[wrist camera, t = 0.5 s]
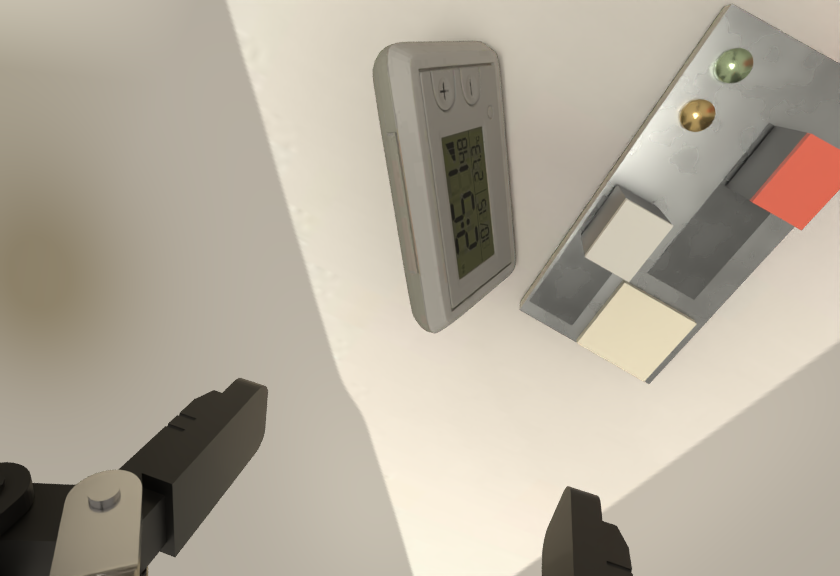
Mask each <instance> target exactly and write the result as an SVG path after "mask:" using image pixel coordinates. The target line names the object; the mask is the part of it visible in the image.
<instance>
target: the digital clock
mask: <svg viewBox="0 0 840 576" xmlns="http://www.w3.org/2000/svg"><path fill="white" fill-rule="evenodd" d="M373 82H374V89H375V95H376V102H377V108H378V115H379V121H380V128H381V134H382V140H383V146H384V151H385V157H386V163H387V169H388V175H389V181H390V187H391V193H392V199H393V205H394V211H395V217H396V223H397V229H398V235H399V241H400V247H401V253H402V259H403V265H404V271H405V276H406V282H407V288H408V293H409V299H410V304H411V309H412V313H413V316H414V318H415V319H416V321H417V322H418V324H419V325H420V326H421V327H422V328H423V329H424V330H426V331H428V332H431V333H438V332H440V331H441V330H443V329H444V328H446V327H447V326H449V325H450V324H452V323H453V322H454V321H455V320H457V319H458V318H459V317H461V316H462V315H463V314H464V313H465V312H467V311H468V310H469V309H470V308H471V307H473V306H474V305H475V304H476V303H477V302H478V301H480V300H481V299H482V298H483V297H484V296H485V295H487V294H488V293H489V292H490V291H491V290H493V289H494V288H495V287H496V286H497V285H498V284H500V283H501V282H502V281H503V280H504V279H506V278H507V277H508V276H509V275H510V274H511V273H512V272H513V270H514V267H515V247H514V233H513V222H512V210H511V198H510V186H509V174H508V162H507V150H506V138H505V126H504V115H503V103H502V91H501V80H500V70H499V62H498V57H497V54H496V53H495V52H494V51H493V50H492V49H491V48H490V47H488V46H487V45H485V44H484V43H482V42H479V41H441V42H400V43H395V44H392V45H389V46H387V47H385V48H384V49H383V50H382V51H381V52H380V53H379V55H378V56H377V58H376V60H375V63H374V67H373Z"/></svg>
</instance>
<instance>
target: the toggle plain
mask: <svg viewBox="0 0 840 576" xmlns="http://www.w3.org/2000/svg"><path fill="white" fill-rule="evenodd" d="M672 227H673V225H672V223H671V222H670V221H669V220H668V219H667V217H666V216H665V215H664V214H663V213H662V211H661V210H660V209H659V208H658V207H656V206H655V205H653V204H651V203H649V202H648V201H646V200H644V199H642V198H641V197H639V196H637V195H635V194H633V193H632V192H630V191H628V190H626V189H625V188H623V187H621V186H619V185H618V184H617V185H616V187H615V188H614V190H613V191H612V192H611V194H610V195H609V197H608V198H607V200H606V201H605V202H604V204H603V205H602V207H601V208H600V209H599V211H598V212H597V214H596V215H595V217H594V218H593V219H592V221H591V222H590V224H589V225H588V227H587V228H586V229H585V231H584V232H583V234H582V235H581V240H582V245H583V250H584V255H585V257H586V258H587V259H589V260H591V261H593V262H594V263H596V264H598V265H600V266H601V267H603V268H605V269H607V270H608V271H610V272H612V273H614V274H615V275H617V276H619V277H621V278H622V279H624V280H626V281H628V282H630V280H631V279H632V278H633V277H634V275H635V274H636V273H637V272H638V270H639V269H640V268H641V266H642V265H643V264H644V263H645V261H646V260H647V259H648V258H649V256H650V255H651V254H652V253H653V251H654V250H655V249H656V248H657V246H658V245H659V244H660V243H661V241H662V240H663V239H664V238H665V236H666V235H667V234H668V233H669V231H670V230H671V229H672Z"/></svg>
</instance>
